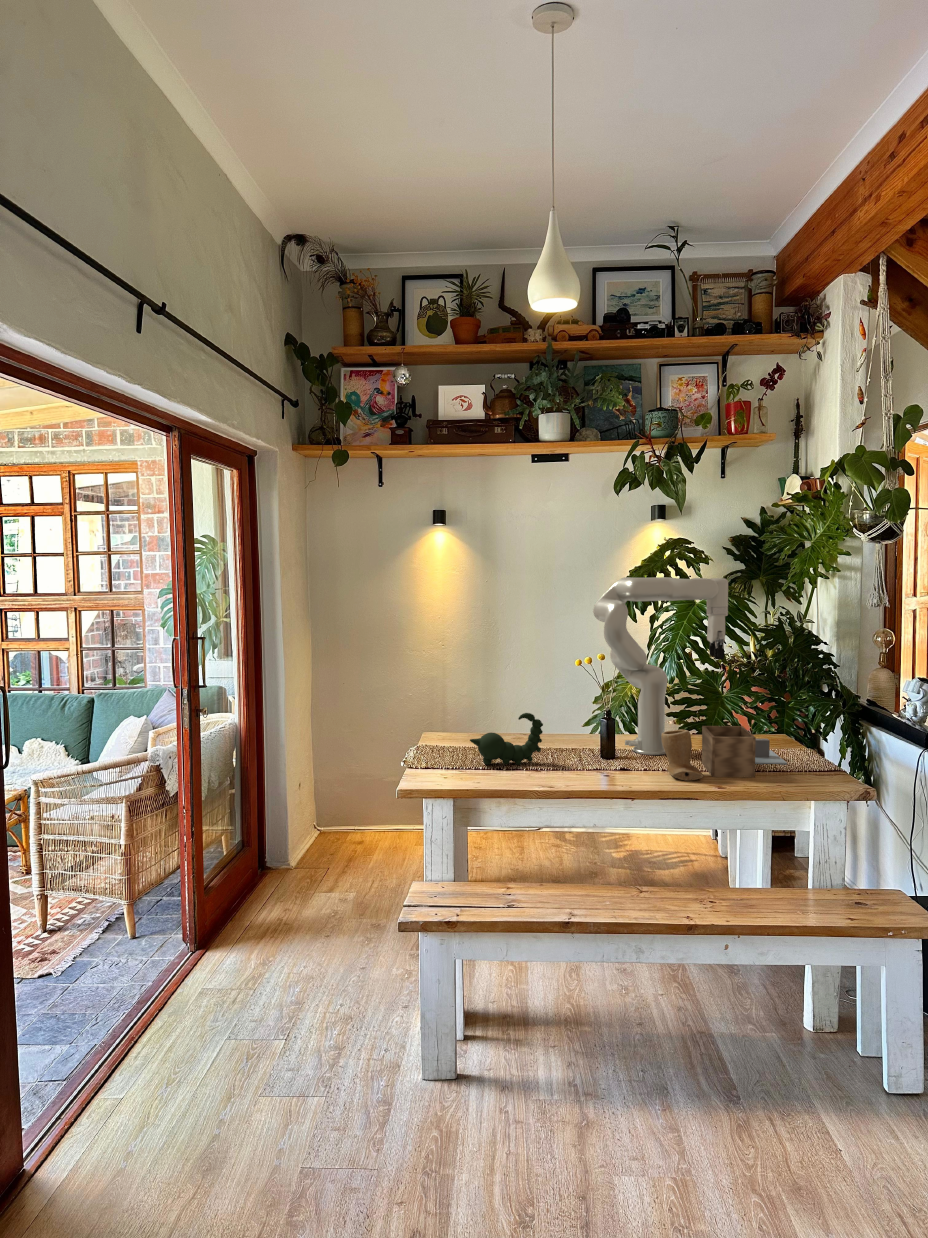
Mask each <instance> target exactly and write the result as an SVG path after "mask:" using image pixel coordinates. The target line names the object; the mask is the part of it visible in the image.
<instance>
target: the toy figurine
mask: <svg viewBox="0 0 928 1238" xmlns="http://www.w3.org/2000/svg"><path fill="white" fill-rule="evenodd" d="M517 719H518V720H519V721H520V720H522V719H526V720H527V721H529V722H530V723H531V727H530V733H529V735H528V736H527V741H526V742H525V743H524V744H522V745H520V744H514V743H512V742H510V741H505V739H504V738H503V736H502V735H500V734H499V733H496V732H487V733H484V734H483V735H482V736H481V737H479V738H471V739H469V742H471V743H472V744H474V745H475V746H476V747H477V749H478V750H477V751H478V752H479V754H480V756H481V757H482V762H483V764H484V765H487V766H490V765H492V763H493V761H495V760H501V761H502V764H504V765H509V763H510V762H513V763H515V765H517V766H520V765H522V762H523V761H525V760H526V761H527V762H529V763H531V762H533V759H534V758H533V753H535V752H536V753H540V752H541V751H542V749H541V747H540V746H539V743H542V742H543V740H542V738H541V735H542V734H543V730H542V727H543V726H544V723H543V722H542V720H540V719H539V718H536V716H535V714H533V713H530V712H524V713H522V714H520V715H519V716H518V718H517Z"/></svg>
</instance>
